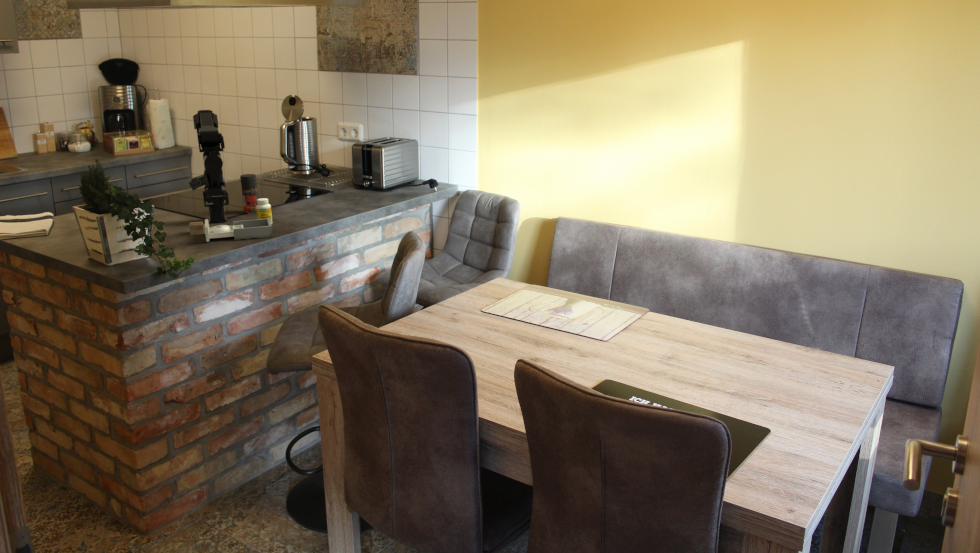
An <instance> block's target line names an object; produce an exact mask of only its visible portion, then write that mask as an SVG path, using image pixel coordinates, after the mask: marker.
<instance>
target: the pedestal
mask: <svg viewBox="0 0 980 553" xmlns="http://www.w3.org/2000/svg"><path fill="white" fill-rule="evenodd" d="M188 227H189V233H190V236H195V235H194V234H196V235H205V234H204V230H205V224H204V221H193V222H189V225H188Z"/></svg>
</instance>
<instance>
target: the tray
mask: <svg viewBox="0 0 980 553" xmlns="http://www.w3.org/2000/svg"><path fill="white" fill-rule="evenodd" d="M228 226H229V228H230V232H220V233H212V229H211V227H212V226H211V227H210V223H209V218H206V219H204V234H203V235H205V241H206V242H210V239H221V238H233V237H234V231H233V229H237V228H243V225H233V224H232V225H228Z"/></svg>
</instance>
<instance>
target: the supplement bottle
mask: <svg viewBox="0 0 980 553" xmlns="http://www.w3.org/2000/svg"><path fill="white" fill-rule="evenodd" d="M257 203H258V205H257V206H256V210H257V213H256V217H257V219H268V218H270V221H271V224H272V225H273V223H274V222H273V214H272V212H273V211H272V205H271V204H270V203H269V198H266V197H264V198H263V197H262V198H258V199H257Z"/></svg>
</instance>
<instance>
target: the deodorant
mask: <svg viewBox="0 0 980 553" xmlns="http://www.w3.org/2000/svg"><path fill="white" fill-rule="evenodd" d="M257 182H258V181H257V175H256V174H254V173H247V174H246V173H244V174H241V175H240V185H241V194H242V195H241V196H242V204H243V213H244V212H245V213H248V214H247V215H253V214H254V213H255V214H257V210H256V206H257V205H258V203H257V199H259V195H258V194H259V193H258V192H259V191H258V183H257ZM245 213H244V214H245Z"/></svg>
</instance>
